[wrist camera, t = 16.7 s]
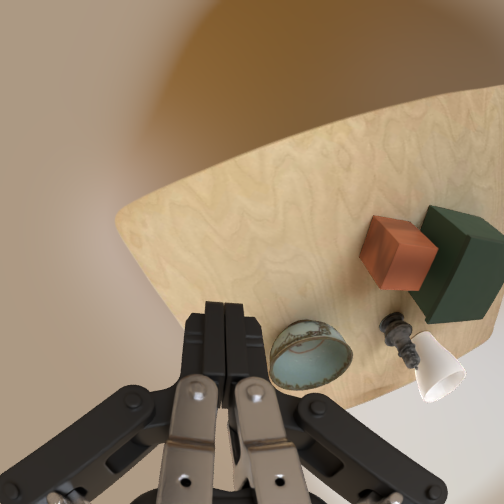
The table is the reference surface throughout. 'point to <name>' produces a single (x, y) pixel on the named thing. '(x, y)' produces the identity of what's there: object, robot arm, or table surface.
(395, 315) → the dark grey chess piece
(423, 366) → the cup
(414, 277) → the block
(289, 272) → the table surface
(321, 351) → the bowl
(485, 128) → the table surface
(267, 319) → the table surface
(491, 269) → the box
